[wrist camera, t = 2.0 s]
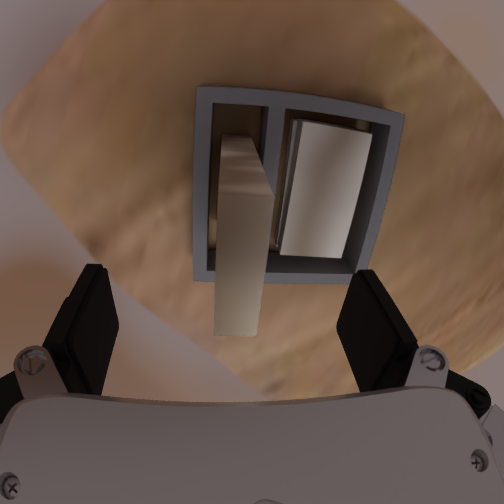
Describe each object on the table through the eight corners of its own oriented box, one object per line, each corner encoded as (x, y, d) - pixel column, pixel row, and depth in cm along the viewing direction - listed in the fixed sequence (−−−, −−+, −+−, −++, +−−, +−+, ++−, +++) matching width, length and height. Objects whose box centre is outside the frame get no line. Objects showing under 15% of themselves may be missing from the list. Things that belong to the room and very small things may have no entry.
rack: (385, 108, 21) (405, 114, 18) (350, 264, 28) (362, 284, 25) (200, 85, 19) (196, 86, 17) (196, 259, 26) (193, 281, 24)
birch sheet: (250, 135, 21) (274, 197, 11) (243, 223, 25) (256, 336, 15) (222, 134, 21) (218, 194, 11) (217, 222, 25) (214, 335, 15)
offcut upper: (364, 130, 21) (372, 134, 19) (335, 248, 26) (341, 258, 25) (298, 118, 20) (303, 121, 19) (277, 244, 25) (280, 254, 24)
